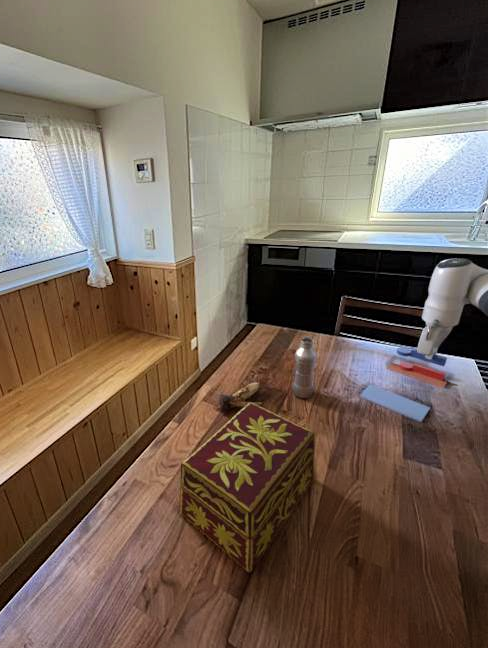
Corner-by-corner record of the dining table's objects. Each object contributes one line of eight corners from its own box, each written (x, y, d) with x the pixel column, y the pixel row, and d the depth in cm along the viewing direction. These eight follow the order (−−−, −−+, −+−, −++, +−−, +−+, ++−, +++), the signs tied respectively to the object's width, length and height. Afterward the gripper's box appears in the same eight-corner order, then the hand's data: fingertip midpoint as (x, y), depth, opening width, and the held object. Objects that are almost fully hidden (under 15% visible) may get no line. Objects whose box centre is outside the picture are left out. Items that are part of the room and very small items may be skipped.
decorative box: (250, 575, 62) (251, 522, 56) (178, 513, 74) (173, 464, 68) (314, 478, 80) (321, 430, 74) (249, 441, 92) (249, 397, 86)
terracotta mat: (450, 377, 112) (451, 376, 112) (443, 388, 107) (444, 386, 107) (394, 359, 124) (395, 358, 124) (386, 368, 119) (386, 367, 119)
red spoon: (445, 377, 111) (446, 371, 110) (441, 382, 109) (443, 376, 108) (401, 363, 120) (403, 357, 119) (397, 368, 118) (398, 362, 117)
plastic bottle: (292, 399, 107) (296, 344, 99) (291, 387, 113) (295, 334, 104) (313, 402, 105) (320, 346, 97) (311, 389, 111) (317, 335, 103)
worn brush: (233, 425, 99) (273, 398, 108) (233, 413, 97) (274, 386, 106) (212, 408, 105) (252, 384, 115) (212, 397, 103) (252, 373, 113)
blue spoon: (446, 362, 102) (448, 356, 101) (442, 368, 100) (444, 361, 99) (399, 348, 111) (400, 342, 110) (394, 353, 109) (396, 347, 108)
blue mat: (429, 409, 99) (430, 407, 99) (421, 422, 94) (421, 421, 94) (369, 385, 111) (370, 384, 111) (359, 396, 106) (359, 395, 106)
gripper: (443, 330, 89) (431, 374, 95) (463, 307, 101) (452, 347, 107) (416, 323, 93) (406, 366, 99) (438, 302, 105) (429, 341, 111)
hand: (430, 356), depth 103 cm, fingers closed on blue spoon, 1 cm apart
